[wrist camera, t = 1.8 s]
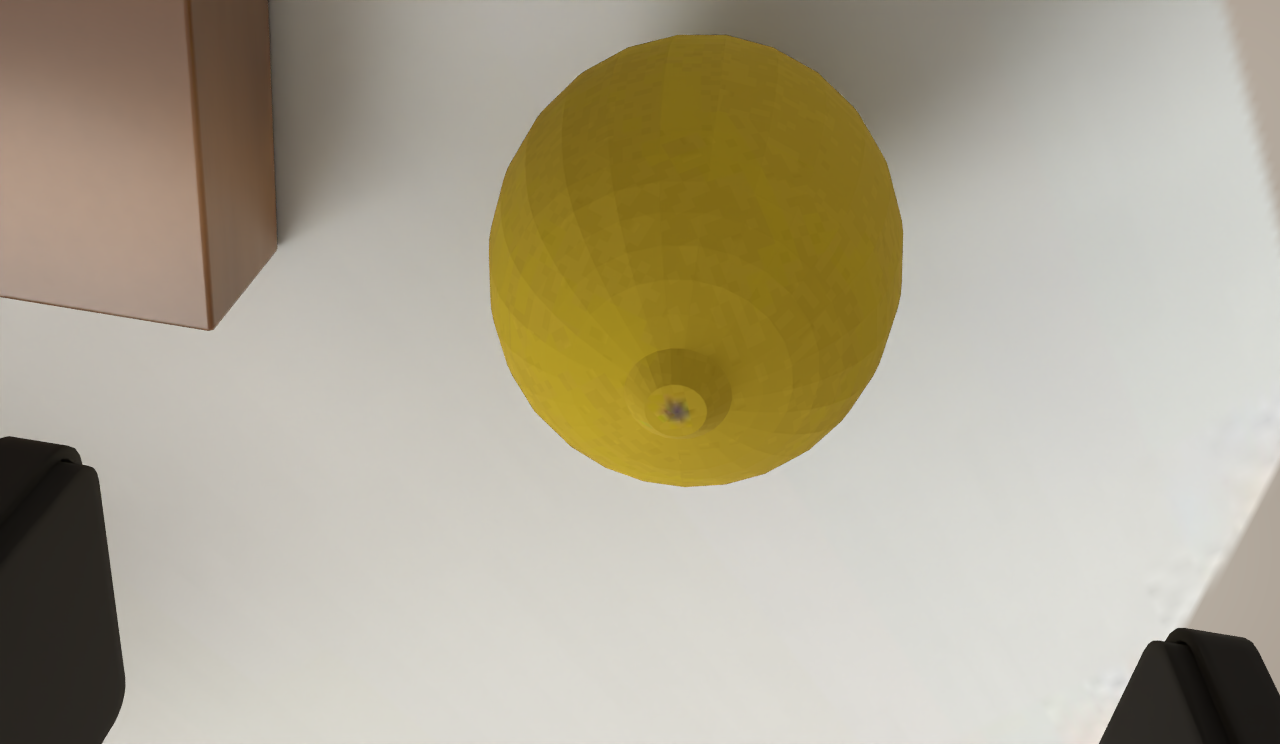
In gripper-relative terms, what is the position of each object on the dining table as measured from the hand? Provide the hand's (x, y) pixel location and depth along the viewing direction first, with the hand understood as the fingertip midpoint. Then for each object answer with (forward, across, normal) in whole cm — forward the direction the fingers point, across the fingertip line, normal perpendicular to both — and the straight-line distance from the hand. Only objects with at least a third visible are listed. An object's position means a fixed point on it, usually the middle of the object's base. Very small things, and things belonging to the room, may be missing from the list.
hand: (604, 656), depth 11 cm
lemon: (+11, 0, -1) cm, 11 cm away
